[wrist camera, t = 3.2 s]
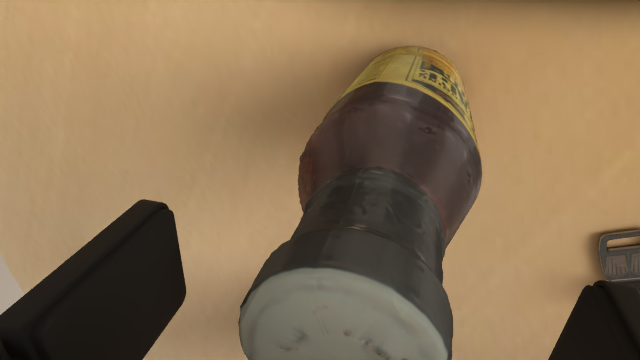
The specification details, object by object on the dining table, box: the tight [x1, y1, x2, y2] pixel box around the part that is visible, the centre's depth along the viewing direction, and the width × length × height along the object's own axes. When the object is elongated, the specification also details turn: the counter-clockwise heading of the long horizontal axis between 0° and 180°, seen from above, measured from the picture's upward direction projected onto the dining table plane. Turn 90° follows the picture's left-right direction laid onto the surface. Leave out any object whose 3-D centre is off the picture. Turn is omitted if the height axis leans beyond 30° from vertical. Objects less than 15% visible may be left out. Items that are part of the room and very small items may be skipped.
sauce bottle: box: [238, 46, 482, 360], centre depth 16 cm, size 6×6×20 cm
